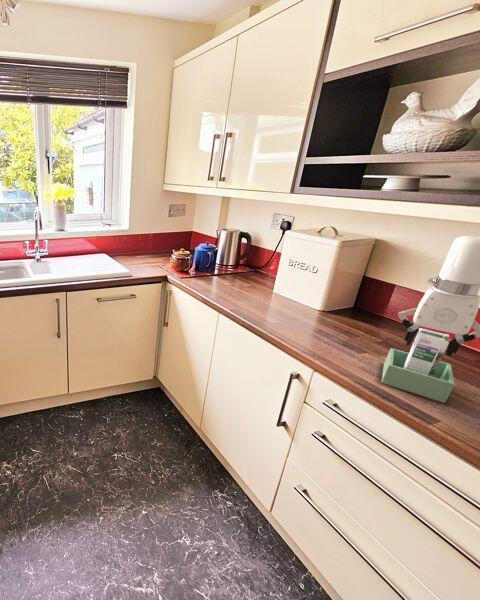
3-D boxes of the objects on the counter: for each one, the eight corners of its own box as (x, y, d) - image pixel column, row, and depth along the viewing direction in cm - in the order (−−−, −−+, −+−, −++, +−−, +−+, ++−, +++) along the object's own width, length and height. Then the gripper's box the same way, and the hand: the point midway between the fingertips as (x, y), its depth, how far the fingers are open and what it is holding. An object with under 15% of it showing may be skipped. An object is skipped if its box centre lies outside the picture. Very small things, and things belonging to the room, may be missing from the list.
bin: (441, 381, 94) (450, 364, 92) (445, 403, 86) (454, 384, 84) (383, 364, 102) (390, 347, 100) (381, 382, 94) (388, 365, 91)
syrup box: (398, 379, 94) (419, 333, 88) (400, 371, 97) (420, 326, 92) (427, 389, 90) (450, 341, 84) (427, 379, 94) (450, 333, 88)
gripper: (409, 282, 86) (384, 342, 93) (513, 300, 75) (477, 367, 82) (409, 275, 91) (385, 333, 98) (507, 291, 80) (473, 355, 87)
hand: (427, 348), depth 90 cm, fingers open, 7 cm apart
